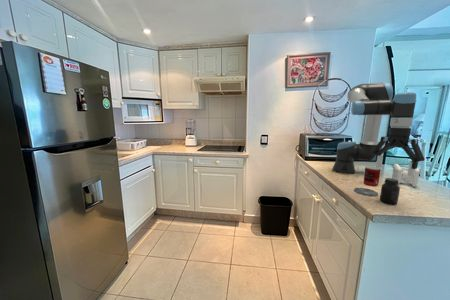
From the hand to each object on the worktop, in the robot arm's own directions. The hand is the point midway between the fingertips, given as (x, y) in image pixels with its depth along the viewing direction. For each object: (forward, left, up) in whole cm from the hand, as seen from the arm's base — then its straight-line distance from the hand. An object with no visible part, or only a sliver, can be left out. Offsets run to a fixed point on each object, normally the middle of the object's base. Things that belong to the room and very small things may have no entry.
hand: (393, 171), depth 91 cm
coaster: (-13, +2, -16) cm, 21 cm away
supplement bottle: (0, 0, -16) cm, 16 cm away
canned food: (-22, +18, -16) cm, 33 cm away
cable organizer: (-17, +39, -16) cm, 46 cm away
